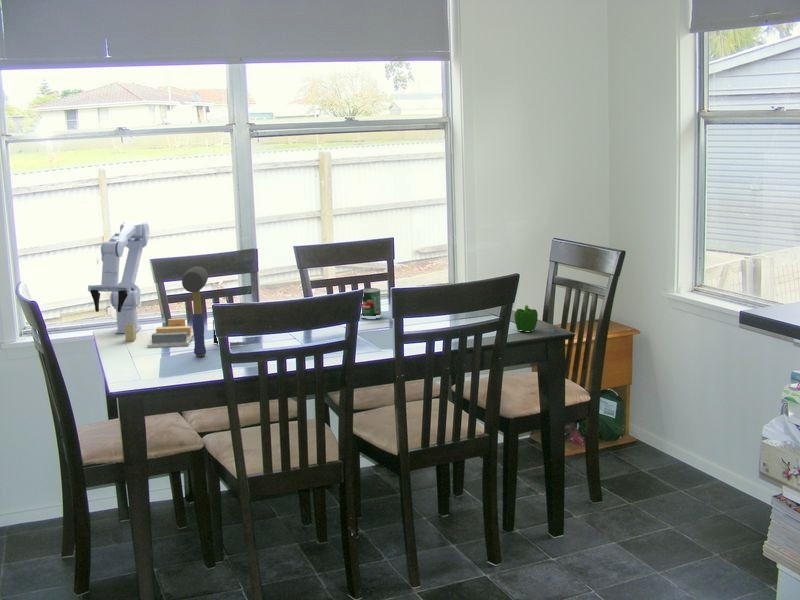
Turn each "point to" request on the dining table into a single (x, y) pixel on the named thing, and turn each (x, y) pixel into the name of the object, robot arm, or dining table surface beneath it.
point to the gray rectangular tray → (170, 339)
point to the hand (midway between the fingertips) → (108, 311)
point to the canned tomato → (371, 302)
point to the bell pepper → (526, 319)
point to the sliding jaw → (175, 326)
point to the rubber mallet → (196, 304)
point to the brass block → (130, 332)
